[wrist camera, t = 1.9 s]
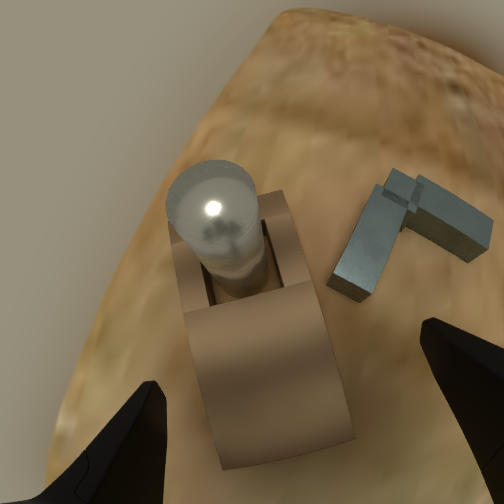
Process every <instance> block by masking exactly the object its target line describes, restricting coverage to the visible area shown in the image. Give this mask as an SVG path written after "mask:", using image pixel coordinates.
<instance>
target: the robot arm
mask: <svg viewBox="0 0 504 504" xmlns="http://www.w3.org/2000/svg"><path fill="white" fill-rule="evenodd" d="M420 344H421V347H422V349H423V351H424V354H425V356H426V358H427V361H428V363H429V365H430V368H431V370H432V373H433V375H434V377H435V379H436V381H437V383H438V385H439V387H440V389H441V391H442V393H443V394H444V396H445V398H446V400H447V402H448V404H449V406H450V408H451V410H452V411H453V413H454V415H455V417H456V419H457V421H458V423H459V425H460V427H461V429H462V431H463V433H464V435H465V438H466V440H467V442H468V444H469V446H470V448H471V450H472V452H473V455H474V457H475V459H476V461H477V463H478V466H479V468H480V470H481V473H482V475H483V478H484V480H485V482H486V485H487V487H488V490H489V492H490V495H491V497H492V500H493V503H494V504H504V349H503V348H501V347H499V346H497V345H495V344H492V343H490V342H488V341H486V340H484V339H481V338H479V337H477V336H475V335H473V334H470V333H468V332H466V331H464V330H461V329H459V328H457V327H455V326H452V325H450V324H448V323H446V322H443V321H441V320H439V319H437V318H434V317H432V318H429V319H426V320H424V321H423V322H422V327H421V334H420ZM166 451H167V401H166V397H165V395H164V393H163V391H162V390H161V388H160V387H159V385H158V383H157V382H156V381H145V382H143V383H142V384H141V385H140V386H139V388H138V389H137V390H136V391H135V392H134V393H133V395H132V396H131V397H130V398H129V399H128V400H127V401H126V403H125V404H124V405H123V406H122V407H121V408H120V410H119V411H118V412H117V413H116V414H115V415H114V416H113V418H112V419H111V420H110V421H109V422H108V423H107V425H106V426H105V427H104V428H103V429H102V430H101V432H100V433H99V434H98V435H97V436H96V437H95V438H94V440H93V441H92V442H91V443H90V444H89V445H88V446H87V448H86V450H84V451H83V452H82V453H81V454H80V456H79V457H78V458H77V459H76V460H75V461H74V462H73V463H72V464H71V465H70V466H69V467H68V468H67V469H66V470H65V471H64V472H63V473H62V474H61V475H60V476H59V477H58V478H57V479H56V480H55V481H54V482H53V483H52V484H51V485H49V486H48V487H47V488H46V489H45V490H44V491H43V492H42V493H41V494H39V495H38V496H36V497H34V498H32V499H29V500H24V501H18V502H10V503H2V504H163V493H164V478H165V464H166Z"/></svg>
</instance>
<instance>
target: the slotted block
mask: <svg viewBox="0 0 504 504" xmlns="http://www.w3.org/2000/svg"><path fill="white" fill-rule="evenodd" d="M257 201H258V207H259V213H260V219H261V225H262V232H263V236H264V235H267V238H268V241H269V245H270V248H271V251H272V255H273V258H274V262H275V265H276V269H277V272H278V276H279V279H280V283H281V286H282V288H279V289H276V290H272V291H268V292H264V293H261V294H257V295H253V296H249V297H246V298H242V299H238V300H234V301H230V302H226V303H222V304H218V305H216V301H215V297H214V292H213V288H212V283H211V278H210V274H209V271H208V270H207V269H206V268H205V266H204V265H203V264H202V263H201V261H200V260H199V259H198V258H197V256H196V255H195V254H194V253H193V251H192V250H191V249H190V248H189V246H188V245H187V244H186V243H185V241H184V240H183V239H182V238H181V236H180V235H179V234H178V232H177V231H176V230H175V229H174V227H173V226H172V225H171V223H170V221H168V227H169V234H170V240H171V247H172V253H173V259H174V265H175V271H176V277H177V283H178V288H179V294H180V299H181V304H182V309H183V314H184V319H185V324H186V329H187V334H188V339H189V343H190V348H191V352H192V357H193V361H194V365H195V370H196V374H197V378H198V382H199V386H200V390H201V394H202V398H203V402H204V406H205V410H206V414H207V417H208V421H209V425H210V428H211V432H212V435H213V439H214V442H215V446H216V449H217V453H218V456H219V459H220V463H221V466H222V469H223V470H229V469H236V468H242V467H248V466H254V465H259V464H264V463H269V462H274V461H278V460H283V459H287V458H291V457H295V456H299V455H303V454H307V453H311V452H314V451H318V450H321V449H325V448H328V447H331V446H335V445H338V444H341V443H344V442H347V441H350V440H353V439H356V438H355V434H354V430H353V426H352V422H351V418H350V414H349V410H348V406H347V402H346V398H345V394H344V390H343V386H342V383H341V379H340V375H339V371H338V368H337V364H336V361H335V357H334V353H333V350H332V346H331V343H330V339H329V336H328V332H327V329H326V325H325V322H324V318H323V315H322V312H321V308H320V305H319V302H318V298H317V295H316V292H315V289H314V285H313V282H312V279H311V276H310V273H309V269H308V266H307V263H306V260H305V257H304V254H303V251H302V247H301V244H300V241H299V238H298V235H297V232H296V229H295V226H294V223H293V220H292V217H291V214H290V211H289V209H288V206H287V203H286V200H285V197H284V194H283V191H282V190H279V191H275V192H271V193H267V194H263V195H259V196H257Z"/></svg>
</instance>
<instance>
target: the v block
mask: <svg viewBox="0 0 504 504" xmlns="http://www.w3.org/2000/svg"><path fill="white" fill-rule="evenodd" d="M405 226H407V227H408V228H410V229H412V230H414V231H415V232H417V233H419V234H421V235H422V236H424V237H426V238H428V239H429V240H431V241H433V242H435V243H436V244H438V245H440V246H441V247H443V248H445V249H446V250H448V251H450V252H451V253H453V254H454V255H456V256H458V257H459V258H461V259H462V260H464V261H466V262H467V263H469V262H470V261H472V260H473V259H475V258H476V257H478V256H479V255H481V254H482V253H484V252H485V251H487V250H488V248H489V243H490V238H491V233H492V227H493V220H492V219H491V218H489V217H488V216H486V215H485V214H483V213H482V212H480V211H479V210H477V209H476V208H474V207H473V206H471V205H470V204H468V203H467V202H465V201H463V200H462V199H460V198H459V197H457V196H455V195H454V194H452V193H451V192H449V191H447V190H446V189H444V188H442V187H441V186H439V185H437V184H435V183H434V182H432V181H430V180H428V179H427V178H425V177H423V176H421V175H418V176H417V178H416V180H415V179H413V178H411V177H409V176H407V175H405V174H404V173H402V172H400V171H398V170H396V169H394V168H392V170H391V172H390V174H389V176H388V178H387V180H386V182H385V184H384V186H383V187H382V186H380V185H378V184H376V185H375V187H374V189H373V191H372V193H371V195H370V197H369V199H368V202H367V204H366V206H365V208H364V210H363V212H362V214H361V217H360V219H359V221H358V223H357V225H356V227H355V229H354V231H353V233H352V235H351V237H350V239H349V242H348V244H347V246H346V248H345V250H344V252H343V254H342V256H341V258H340V260H339V262H338V264H337V266H336V267H335V269H334V271H333V273H332V275H331V277H330V279H329V281H328V283H327V286H329V287H331V288H333V289H335V290H336V291H338V292H340V293H342V294H344V295H346V296H348V297H350V298H351V299H353V300H355V301H357V302H359V303H361V302H362V301H363V300H364V299H366V298H367V297H368V296H370V295H371V294H372V293H373V291H374V288H375V286H376V284H377V282H378V280H379V277H380V275H381V273H382V270H383V268H384V266H385V264H386V261H387V259H388V256H389V254H390V252H391V249H392V247H393V244H394V242H395V239H396V237H397V234H398V232H399V231H400V232H401V231H402V229H403V228H404V227H405Z"/></svg>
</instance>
